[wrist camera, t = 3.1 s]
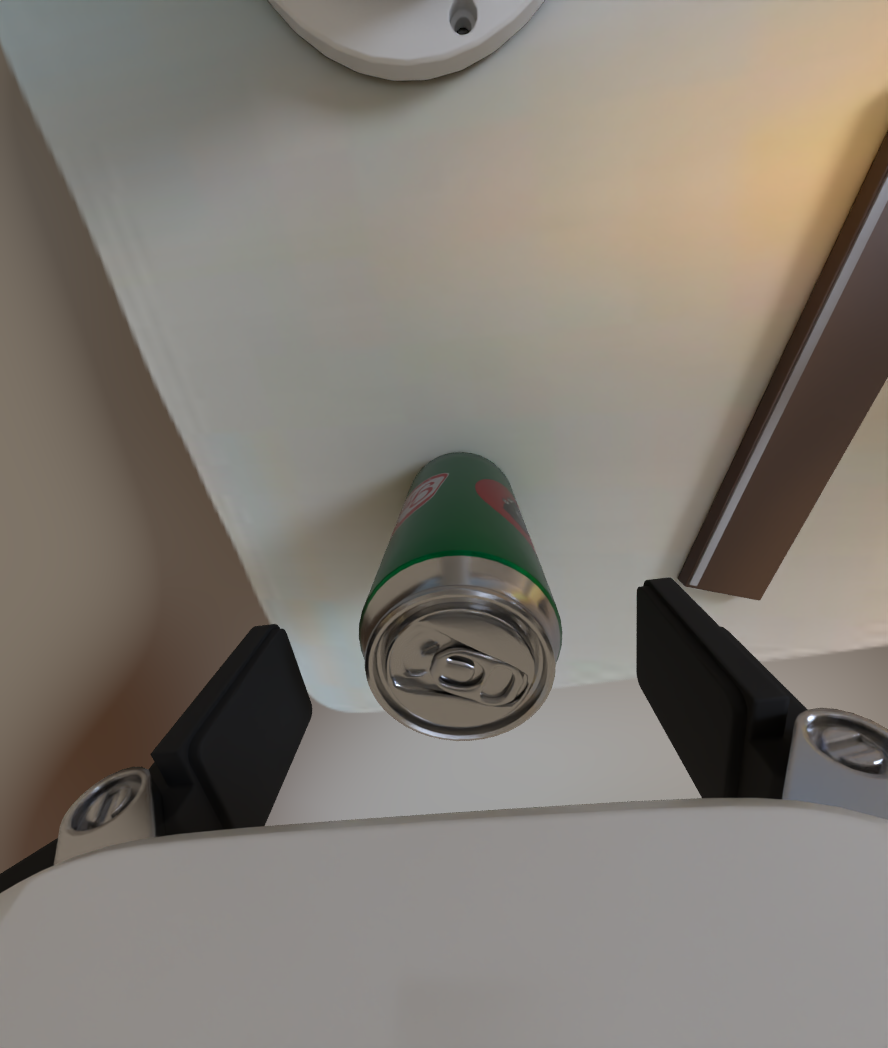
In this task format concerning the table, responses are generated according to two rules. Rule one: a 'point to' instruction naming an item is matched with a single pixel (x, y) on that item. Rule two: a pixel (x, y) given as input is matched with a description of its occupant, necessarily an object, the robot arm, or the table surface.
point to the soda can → (460, 608)
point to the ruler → (804, 408)
